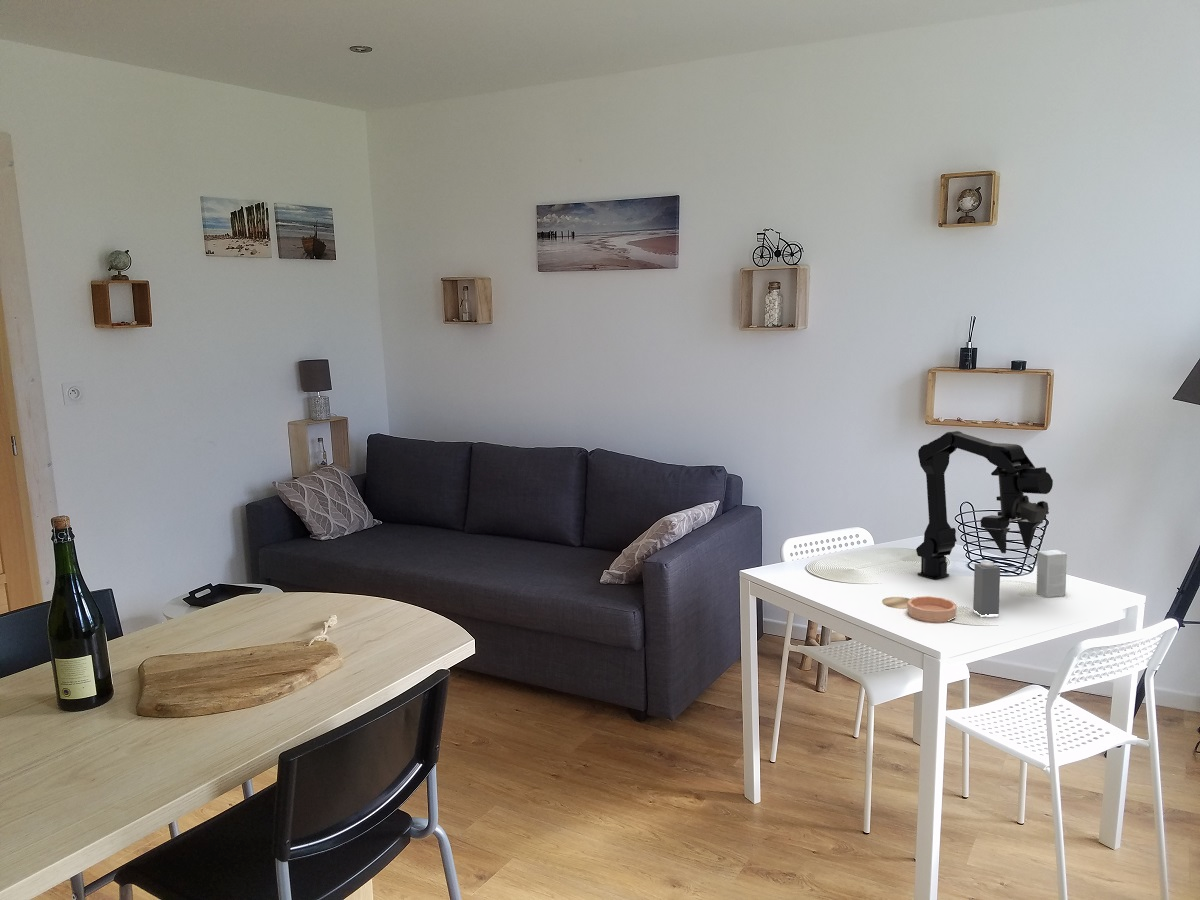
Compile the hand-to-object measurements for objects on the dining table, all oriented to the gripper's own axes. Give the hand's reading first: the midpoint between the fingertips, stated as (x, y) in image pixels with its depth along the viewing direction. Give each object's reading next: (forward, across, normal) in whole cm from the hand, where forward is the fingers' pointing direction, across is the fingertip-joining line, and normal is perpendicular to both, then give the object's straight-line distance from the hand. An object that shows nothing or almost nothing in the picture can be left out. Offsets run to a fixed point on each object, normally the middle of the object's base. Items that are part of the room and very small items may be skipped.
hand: (1015, 550), depth 228 cm
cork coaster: (+12, -26, +17) cm, 33 cm away
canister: (+14, -14, -1) cm, 20 cm away
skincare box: (+14, +13, 0) cm, 19 cm away
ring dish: (+13, -26, +6) cm, 30 cm away
